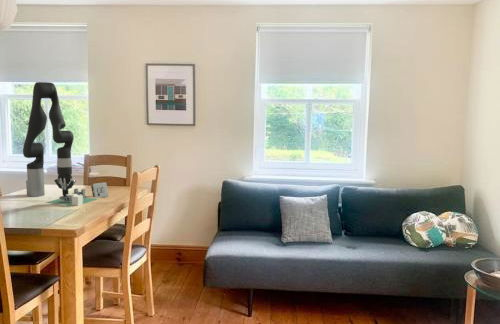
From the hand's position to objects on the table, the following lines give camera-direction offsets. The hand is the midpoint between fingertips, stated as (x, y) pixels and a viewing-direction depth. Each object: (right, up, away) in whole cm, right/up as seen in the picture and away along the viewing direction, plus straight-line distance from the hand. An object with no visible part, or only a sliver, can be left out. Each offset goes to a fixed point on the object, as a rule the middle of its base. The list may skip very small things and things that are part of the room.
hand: (65, 196), depth 229 cm
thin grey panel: (+1, -1, +5) cm, 5 cm away
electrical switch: (+11, -3, +23) cm, 26 cm away
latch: (+6, -5, -3) cm, 8 cm away
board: (+1, -5, +7) cm, 8 cm away
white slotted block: (+1, -3, +6) cm, 7 cm away
